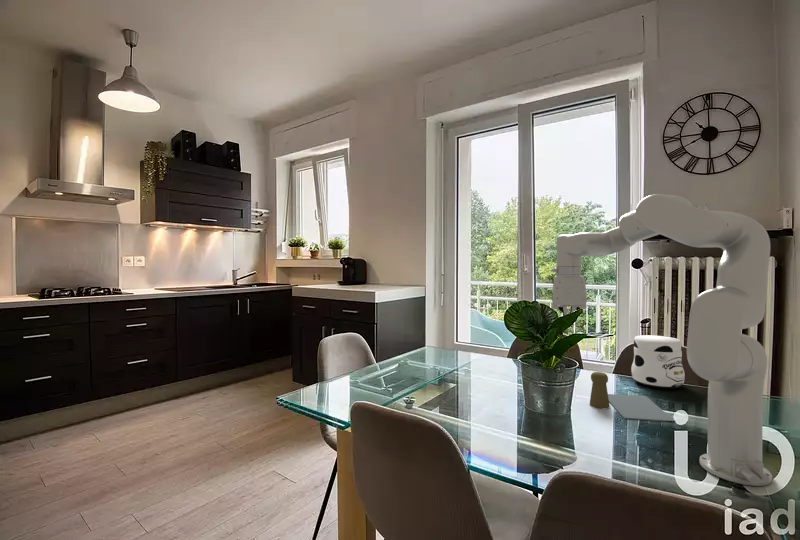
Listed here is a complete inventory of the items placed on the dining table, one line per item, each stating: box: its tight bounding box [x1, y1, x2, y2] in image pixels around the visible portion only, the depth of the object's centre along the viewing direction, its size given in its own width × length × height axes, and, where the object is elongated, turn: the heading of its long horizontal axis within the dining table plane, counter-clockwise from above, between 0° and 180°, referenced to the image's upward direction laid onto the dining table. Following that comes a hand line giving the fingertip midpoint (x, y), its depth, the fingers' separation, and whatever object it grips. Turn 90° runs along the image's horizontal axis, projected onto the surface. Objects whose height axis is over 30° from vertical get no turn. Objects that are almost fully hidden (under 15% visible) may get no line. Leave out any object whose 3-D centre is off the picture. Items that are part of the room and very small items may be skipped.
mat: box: [608, 393, 676, 423], centre depth 129 cm, size 22×14×1 cm, turn 168°
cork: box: [589, 371, 611, 409], centre depth 131 cm, size 6×6×11 cm
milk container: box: [630, 334, 686, 389], centre depth 152 cm, size 17×17×18 cm
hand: (568, 326), depth 130 cm, fingers closed
